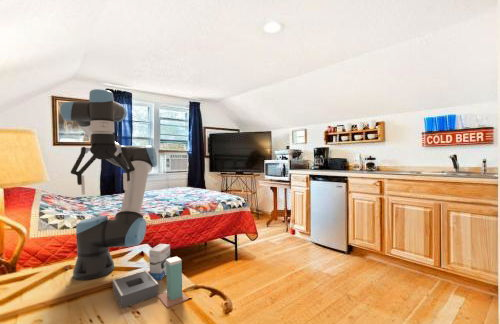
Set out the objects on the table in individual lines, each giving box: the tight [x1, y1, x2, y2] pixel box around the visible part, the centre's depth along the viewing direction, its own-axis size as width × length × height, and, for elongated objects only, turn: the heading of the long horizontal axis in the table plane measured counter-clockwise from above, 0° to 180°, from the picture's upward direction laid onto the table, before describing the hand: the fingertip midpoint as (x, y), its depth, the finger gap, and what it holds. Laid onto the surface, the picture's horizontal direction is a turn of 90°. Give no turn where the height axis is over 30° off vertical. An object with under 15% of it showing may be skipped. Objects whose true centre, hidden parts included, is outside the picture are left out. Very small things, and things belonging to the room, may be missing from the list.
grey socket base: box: [112, 269, 159, 309], centre depth 94 cm, size 14×12×4 cm
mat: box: [157, 291, 190, 309], centre depth 91 cm, size 9×9×1 cm
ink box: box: [148, 243, 171, 281], centre depth 107 cm, size 8×5×12 cm, turn 168°
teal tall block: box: [165, 255, 183, 301], centre depth 90 cm, size 4×4×13 cm
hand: (105, 192), depth 95 cm, fingers open, 13 cm apart
